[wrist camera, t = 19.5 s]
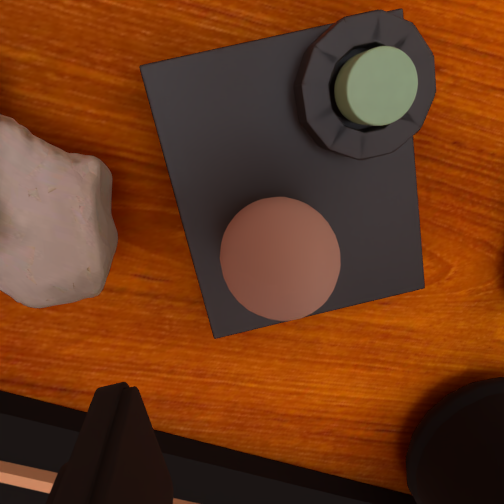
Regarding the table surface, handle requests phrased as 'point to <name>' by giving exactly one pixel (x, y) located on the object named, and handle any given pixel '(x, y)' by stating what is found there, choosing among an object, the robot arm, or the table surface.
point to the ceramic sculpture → (52, 220)
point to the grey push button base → (294, 154)
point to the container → (460, 448)
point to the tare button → (376, 86)
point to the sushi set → (176, 458)
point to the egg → (280, 258)
